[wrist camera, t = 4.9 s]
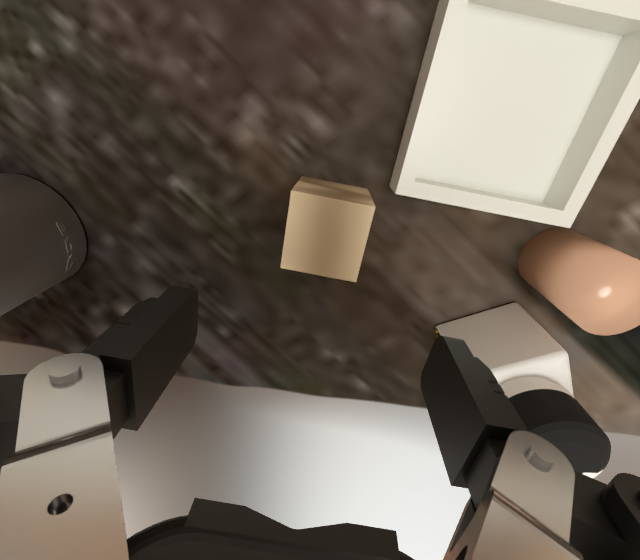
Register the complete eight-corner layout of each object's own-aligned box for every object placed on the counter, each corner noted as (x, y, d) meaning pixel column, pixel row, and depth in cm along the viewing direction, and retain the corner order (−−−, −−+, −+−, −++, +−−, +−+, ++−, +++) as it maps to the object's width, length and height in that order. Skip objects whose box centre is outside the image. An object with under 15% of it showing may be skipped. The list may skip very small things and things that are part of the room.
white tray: (389, 186, 24) (395, 193, 22) (444, -22, 19) (462, -46, 16) (544, 216, 25) (570, 228, 22) (640, 21, 19) (689, 4, 17)
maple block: (292, 238, 26) (280, 267, 21) (302, 175, 24) (291, 190, 19) (352, 250, 27) (356, 282, 21) (367, 188, 24) (375, 206, 19)
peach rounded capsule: (506, 280, 27) (558, 327, 21) (534, 221, 25) (601, 254, 19) (564, 291, 27) (633, 341, 21) (597, 234, 25) (685, 271, 19)
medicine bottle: (433, 324, 29) (488, 442, 18) (516, 299, 28) (630, 411, 17) (451, 382, 32) (509, 515, 21) (528, 362, 30) (633, 493, 20)
